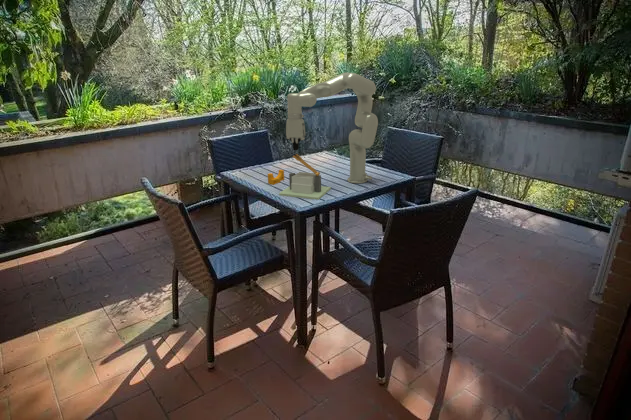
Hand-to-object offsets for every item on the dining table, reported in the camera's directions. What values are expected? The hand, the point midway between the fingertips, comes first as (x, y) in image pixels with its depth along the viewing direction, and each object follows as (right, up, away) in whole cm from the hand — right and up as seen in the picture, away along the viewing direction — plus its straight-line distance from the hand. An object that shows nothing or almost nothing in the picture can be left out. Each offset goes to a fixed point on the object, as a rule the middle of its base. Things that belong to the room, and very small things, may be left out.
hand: (295, 149), depth 236 cm
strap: (+6, -9, +1) cm, 11 cm away
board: (+5, -23, +7) cm, 25 cm away
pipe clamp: (-13, -17, +27) cm, 34 cm away
